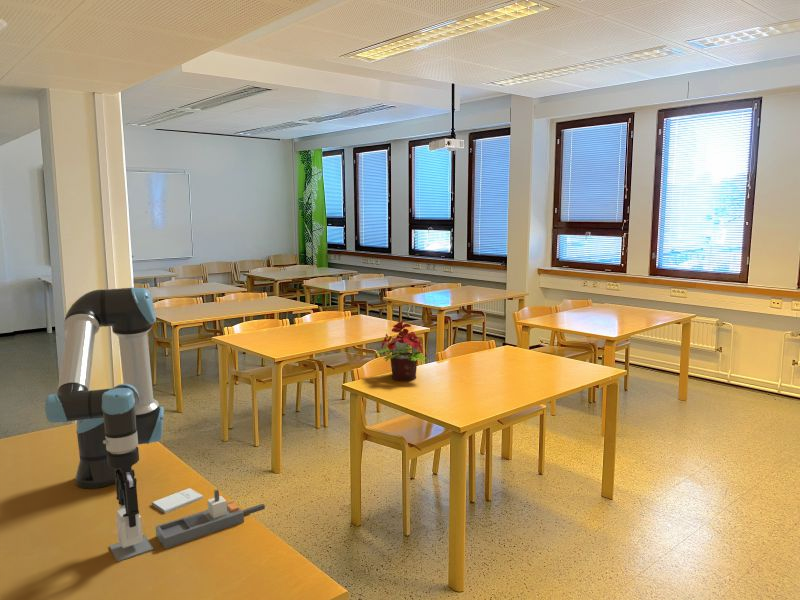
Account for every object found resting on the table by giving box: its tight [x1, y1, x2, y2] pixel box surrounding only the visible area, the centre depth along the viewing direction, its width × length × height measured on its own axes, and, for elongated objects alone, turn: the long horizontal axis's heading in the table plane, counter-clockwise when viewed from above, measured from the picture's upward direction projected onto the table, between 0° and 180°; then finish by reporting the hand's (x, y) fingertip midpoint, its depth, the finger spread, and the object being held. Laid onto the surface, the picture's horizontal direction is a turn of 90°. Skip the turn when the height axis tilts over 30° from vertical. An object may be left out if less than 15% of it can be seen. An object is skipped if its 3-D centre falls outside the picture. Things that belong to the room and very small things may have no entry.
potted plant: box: [373, 321, 428, 382], centre depth 313 cm, size 30×27×30 cm
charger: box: [115, 508, 143, 548], centre depth 161 cm, size 5×5×8 cm
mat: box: [108, 533, 155, 563], centre depth 162 cm, size 9×9×1 cm
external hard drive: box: [151, 487, 204, 514], centre depth 187 cm, size 2×8×12 cm
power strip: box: [155, 489, 266, 550], centre depth 172 cm, size 30×8×10 cm, turn 127°
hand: (129, 532), depth 161 cm, fingers closed on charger, 5 cm apart
